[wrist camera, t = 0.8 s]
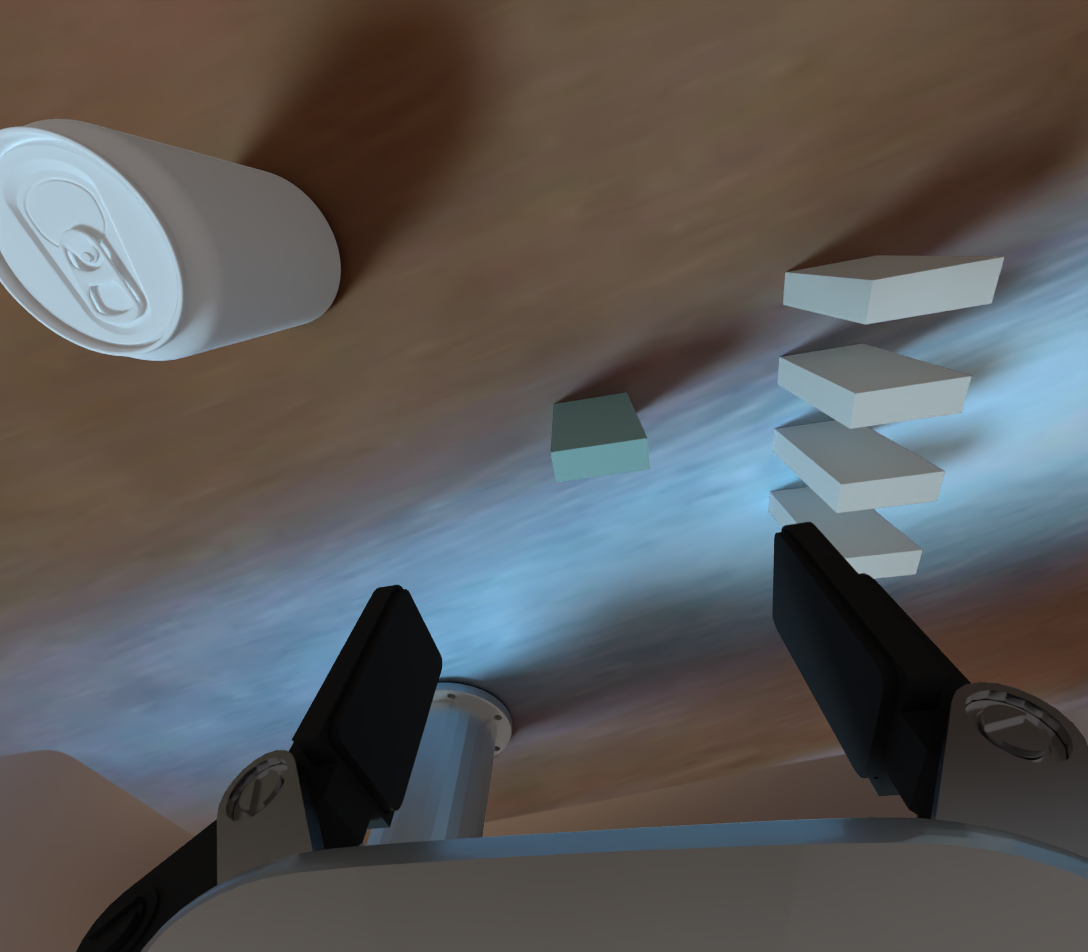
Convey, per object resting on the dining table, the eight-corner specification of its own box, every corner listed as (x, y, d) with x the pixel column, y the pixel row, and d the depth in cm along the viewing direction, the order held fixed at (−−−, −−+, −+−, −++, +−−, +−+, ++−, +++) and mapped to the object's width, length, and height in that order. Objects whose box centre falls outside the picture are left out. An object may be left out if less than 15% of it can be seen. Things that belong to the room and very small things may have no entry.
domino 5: (837, 503, 32) (915, 574, 25) (768, 511, 33) (825, 583, 26) (841, 482, 31) (922, 549, 24) (769, 491, 32) (829, 560, 25)
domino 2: (871, 288, 25) (991, 303, 18) (783, 304, 26) (865, 324, 19) (877, 255, 24) (1004, 256, 17) (785, 272, 25) (872, 280, 18)
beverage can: (312, 156, 23) (103, 76, 13) (365, 311, 27) (237, 350, 16) (181, 188, 24) (-116, 137, 14) (250, 333, 28) (58, 383, 17)
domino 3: (858, 371, 27) (961, 412, 20) (777, 384, 28) (849, 428, 21) (863, 343, 27) (971, 376, 20) (779, 357, 27) (855, 393, 20)
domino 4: (847, 441, 30) (936, 501, 23) (772, 452, 30) (836, 513, 23) (851, 417, 29) (945, 471, 22) (774, 428, 30) (841, 484, 22)
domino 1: (629, 417, 30) (649, 469, 22) (557, 428, 30) (556, 482, 23) (626, 392, 29) (647, 438, 22) (553, 404, 29) (550, 452, 22)
